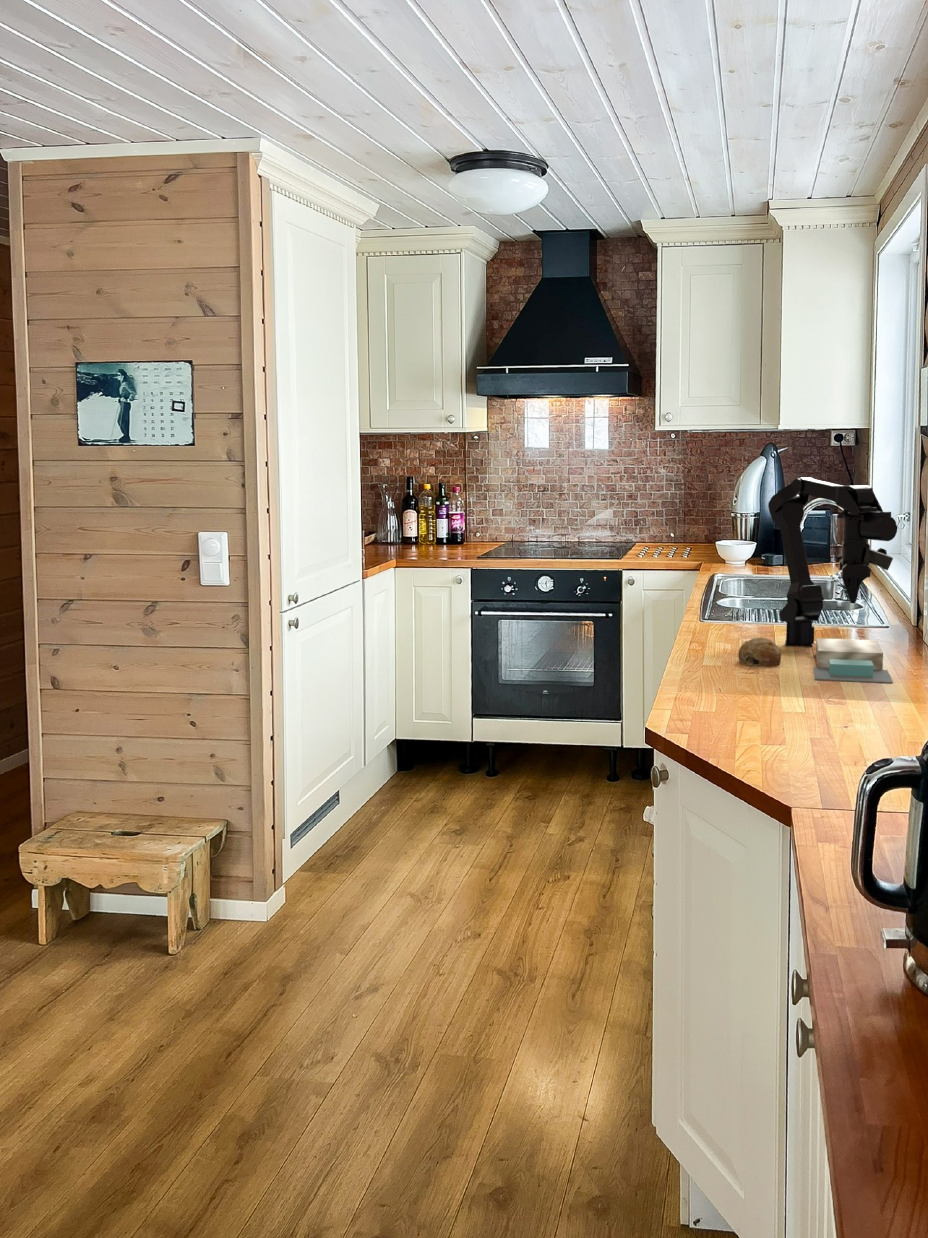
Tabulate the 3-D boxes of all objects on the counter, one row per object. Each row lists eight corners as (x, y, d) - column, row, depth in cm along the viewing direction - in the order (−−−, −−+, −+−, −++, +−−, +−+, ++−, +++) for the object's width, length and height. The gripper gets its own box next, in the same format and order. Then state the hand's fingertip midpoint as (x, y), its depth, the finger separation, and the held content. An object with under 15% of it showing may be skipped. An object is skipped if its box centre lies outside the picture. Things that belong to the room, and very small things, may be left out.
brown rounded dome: (735, 678, 272) (732, 651, 268) (745, 654, 280) (742, 626, 276) (777, 682, 268) (775, 654, 264) (786, 657, 275) (784, 629, 271)
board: (817, 668, 265) (818, 650, 265) (815, 654, 283) (816, 638, 282) (882, 670, 262) (883, 653, 261) (876, 656, 279) (877, 640, 278)
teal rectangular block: (829, 659, 261) (829, 670, 261) (830, 664, 255) (830, 675, 256) (871, 660, 259) (871, 671, 259) (873, 665, 253) (872, 676, 253)
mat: (814, 680, 252) (814, 678, 252) (813, 668, 265) (813, 666, 265) (892, 683, 248) (892, 682, 248) (887, 671, 261) (887, 669, 261)
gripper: (895, 541, 264) (891, 609, 267) (888, 535, 282) (885, 599, 284) (843, 541, 267) (841, 608, 269) (840, 535, 285) (837, 597, 287)
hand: (852, 603), depth 278 cm, fingers closed
